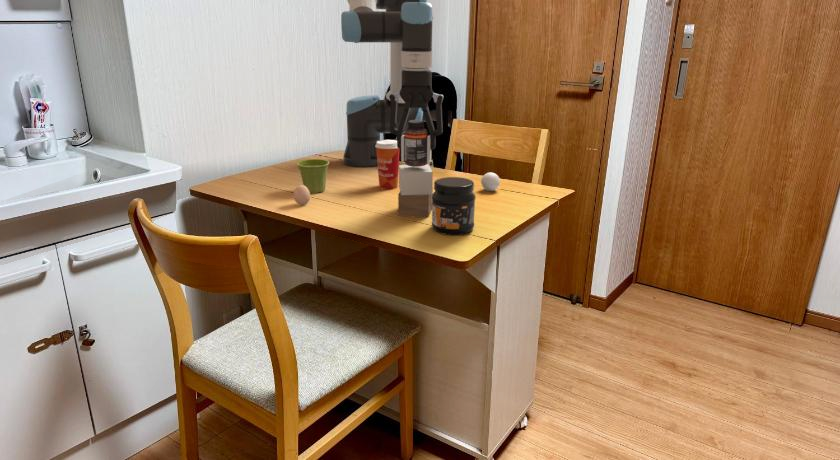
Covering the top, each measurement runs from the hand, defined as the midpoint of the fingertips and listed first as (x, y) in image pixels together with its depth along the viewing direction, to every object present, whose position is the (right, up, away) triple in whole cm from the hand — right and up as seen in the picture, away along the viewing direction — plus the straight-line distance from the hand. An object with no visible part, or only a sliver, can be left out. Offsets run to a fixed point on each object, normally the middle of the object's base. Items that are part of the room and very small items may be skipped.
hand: (416, 160), depth 150 cm
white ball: (+22, -7, +24) cm, 33 cm away
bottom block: (0, -13, +5) cm, 14 cm away
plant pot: (-31, -6, +23) cm, 39 cm away
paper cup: (-9, -5, +28) cm, 29 cm away
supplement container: (+9, -18, -8) cm, 22 cm away
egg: (-32, -11, +10) cm, 35 cm away
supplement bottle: (0, -1, 0) cm, 1 cm away
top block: (0, -7, +3) cm, 8 cm away
